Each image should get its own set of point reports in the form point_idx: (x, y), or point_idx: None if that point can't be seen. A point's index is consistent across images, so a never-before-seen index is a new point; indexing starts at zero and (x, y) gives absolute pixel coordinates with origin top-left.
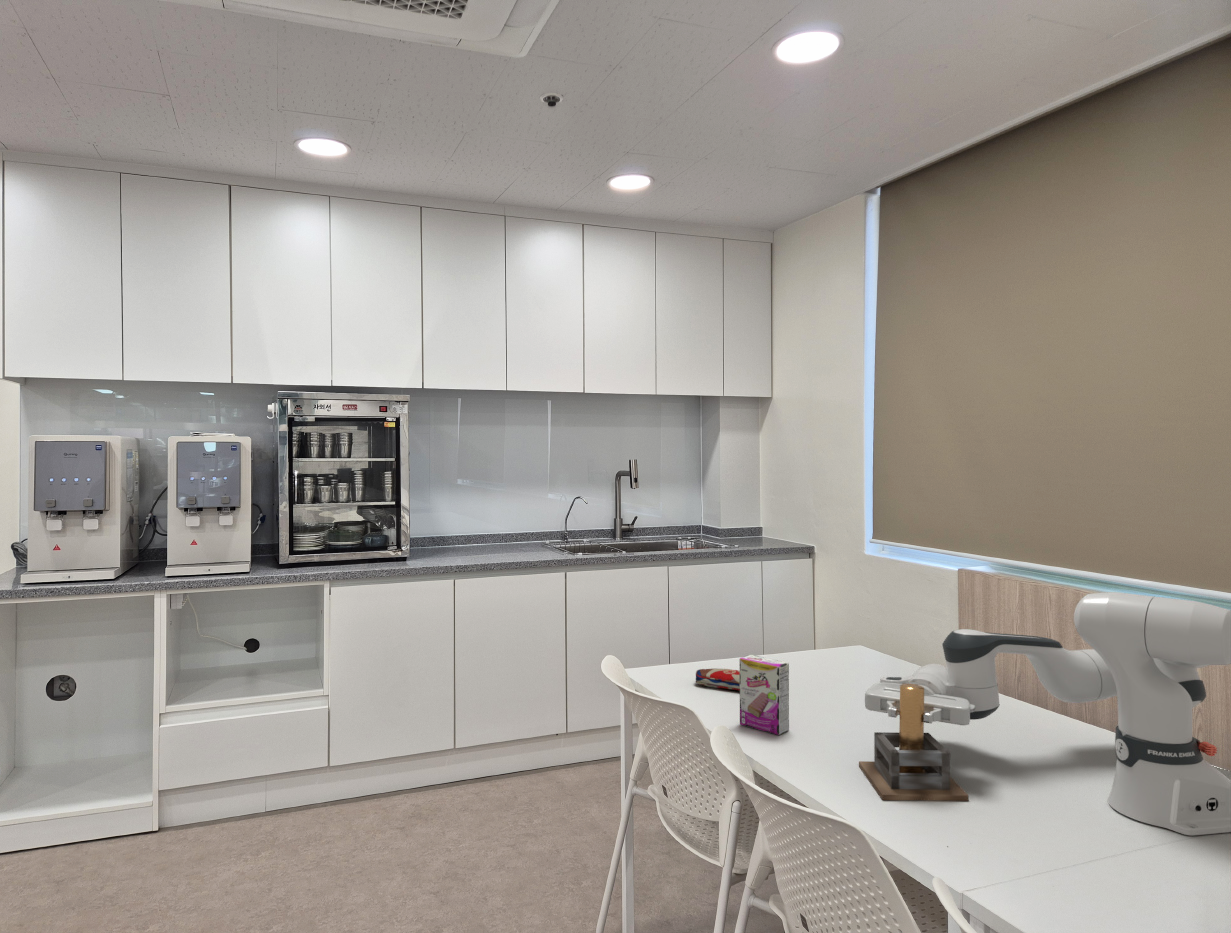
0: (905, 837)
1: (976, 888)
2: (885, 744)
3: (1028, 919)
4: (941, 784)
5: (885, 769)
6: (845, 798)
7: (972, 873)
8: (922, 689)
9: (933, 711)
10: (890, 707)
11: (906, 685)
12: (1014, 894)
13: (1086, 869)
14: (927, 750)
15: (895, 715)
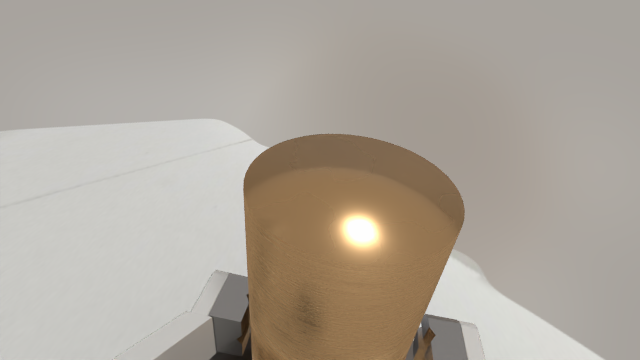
0: None
1: (239, 142)
2: (411, 344)
3: (205, 120)
4: None
5: None
6: (440, 299)
7: (236, 158)
8: (266, 154)
9: (181, 327)
10: (469, 335)
11: (410, 206)
12: (202, 140)
13: (66, 181)
14: (250, 330)
15: (417, 332)
